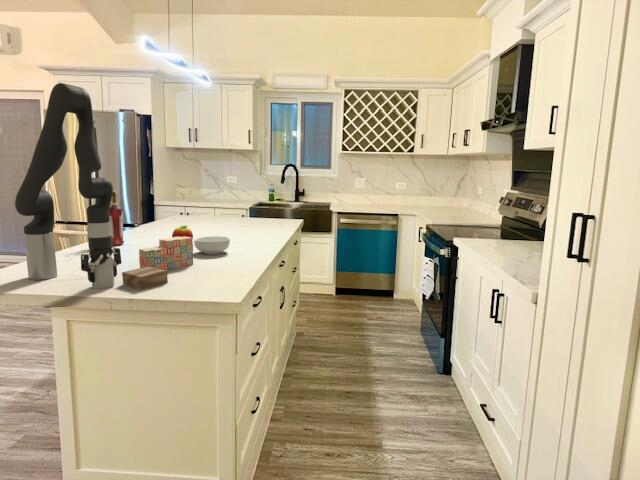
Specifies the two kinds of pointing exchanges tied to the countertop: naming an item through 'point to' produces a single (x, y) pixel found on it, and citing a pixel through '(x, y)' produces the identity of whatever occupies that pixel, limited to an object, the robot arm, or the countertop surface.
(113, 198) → the liquor
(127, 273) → the walnut block
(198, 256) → the countertop surface
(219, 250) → the cereal bowl
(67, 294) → the countertop surface
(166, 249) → the stack of blocks
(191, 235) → the fruit
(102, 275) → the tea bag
